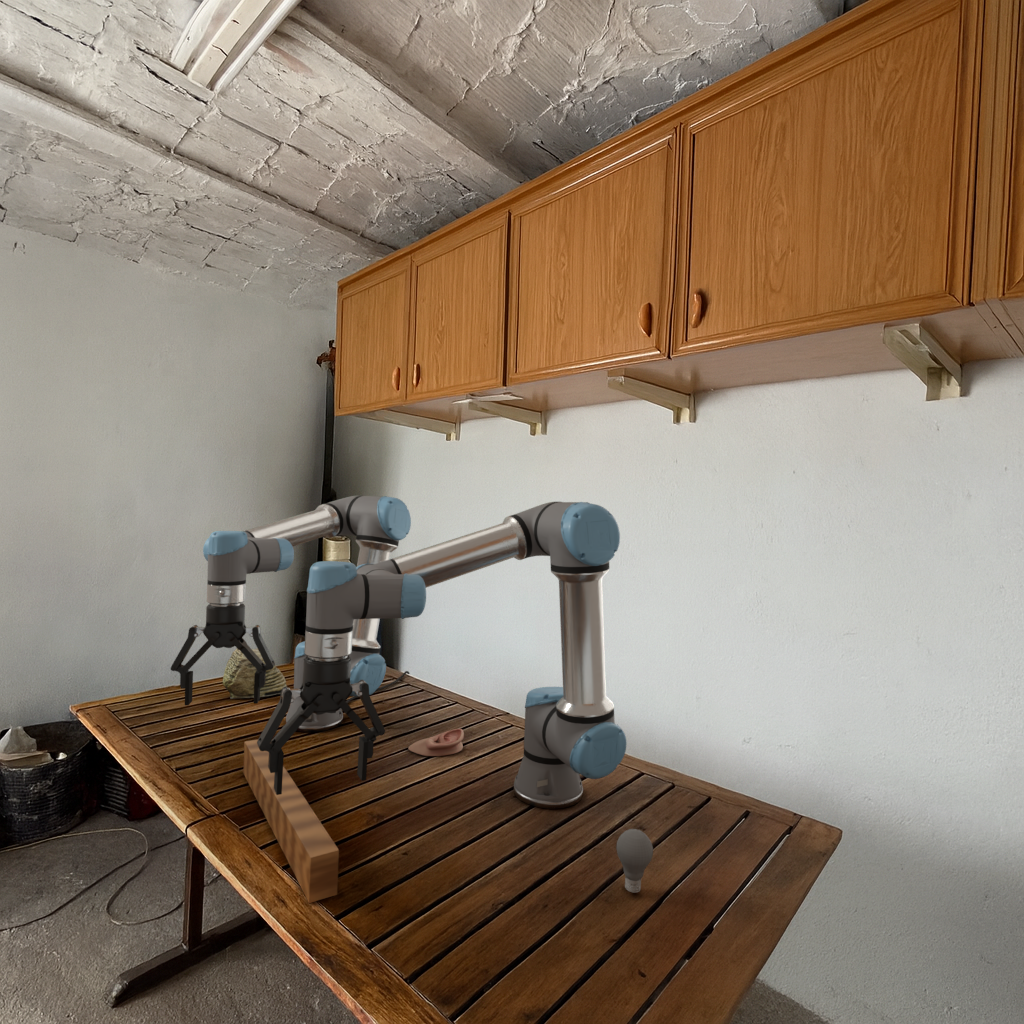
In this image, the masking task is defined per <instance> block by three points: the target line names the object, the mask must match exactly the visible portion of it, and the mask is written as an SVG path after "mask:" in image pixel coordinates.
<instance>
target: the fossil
mask: <svg viewBox="0 0 1024 1024" xmlns="http://www.w3.org/2000/svg"><path fill="white" fill-rule="evenodd" d="M251 649H252V650H253V651H254V653H255V654H256V655H257V656H258V657H259V658H260V659H261V661H262V662H263V663H264V664H265V662H264V660H263V658H262V656H261V654H260V652H259V650H258V648H257V647H256V648H251ZM256 671H257V669H256V668H255V667H254V666H253V665H252V663H251V662H250V661H249V660H248V659H247V658H246V657H245V655H244V654H243V653H242V652H241V651H240V650H238V649H237V648H236V649H235V650H233V651H232V653H231V656H230V657H229V659H228V660H227V663H226V666H225V668H224V671H223V675H222V676H223V677H222V685H223V687H224V688H225V690H226V691H228V693H229V698H230V699H250V698H254V677H255V672H256ZM285 686H287V680H286V678H285V676H284V674H283V673H282V672H281V669H279V668H278V667H277V665H276V664H275V665H274V667H273V669H271V670H267V671H266V679H265V685H264V686H263V687H260V698H264V697H271V696H275V695H281V691H282V688H283V687H285ZM287 687H288V686H287Z"/></svg>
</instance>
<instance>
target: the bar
mask: <svg viewBox="0 0 1024 1024" xmlns="http://www.w3.org/2000/svg"><path fill="white" fill-rule="evenodd" d="M258 739H259V738H258ZM258 739H252V740H251V739H250V740H246V741H243V742H244V744H243V745H244V746H243V770H242V771H243V772H242V773H243V775H244V777H245V780H246V781H247V783H248V786H249V787H250V790H251V791H252V793H253V795H254V797H255V799H256V801H257V803H258V805H259V807H260V809H261V811H262V813H263V815H264V817H265V819H266V821H267V823H268V825H269V827H270V828H271V830H272V833H273V835H274V836H275V838H276V841H277V842H278V845H279V846H280V848H281V851H282V852H283V855H284V856H285V859H286V860H287V862H288V865H289V867H290V869H291V870H292V872H293V874H294V876H295V878H296V880H297V883H298V884H299V886H300V888H301V890H302V892H303V894H304V896H305V898H306V900H307V902H308V904H311V903H315V902H317V901H322V900H324V899H327V898H330V897H334V896H337V895H338V887H339V885H338V883H339V860H340V858H339V857H340V850H339V848H338V846H337V845H336V843H335V842H334V840H333V839H332V838H331V835H330V834H329V833H328V831H327V830H326V828H325V827H324V825H323V824H322V822H321V821H320V819H319V818H318V816H317V815H316V813H315V812H314V810H313V809H312V807H311V806H310V804H309V803H308V801H307V799H306V797H305V796H304V795H303V793H302V792H301V790H300V789H299V787H298V786H297V784H296V782H295V781H294V780H293V778H292V776H291V775H290V773H289V772H288V771H287V769H286V768H285V766H284V765H283V777H282V794H280V795H276V792H275V790H274V775H275V773H270V770H269V768H268V761H269V752H268V751H260V749H259V747H258V744H257V741H258Z"/></svg>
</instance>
